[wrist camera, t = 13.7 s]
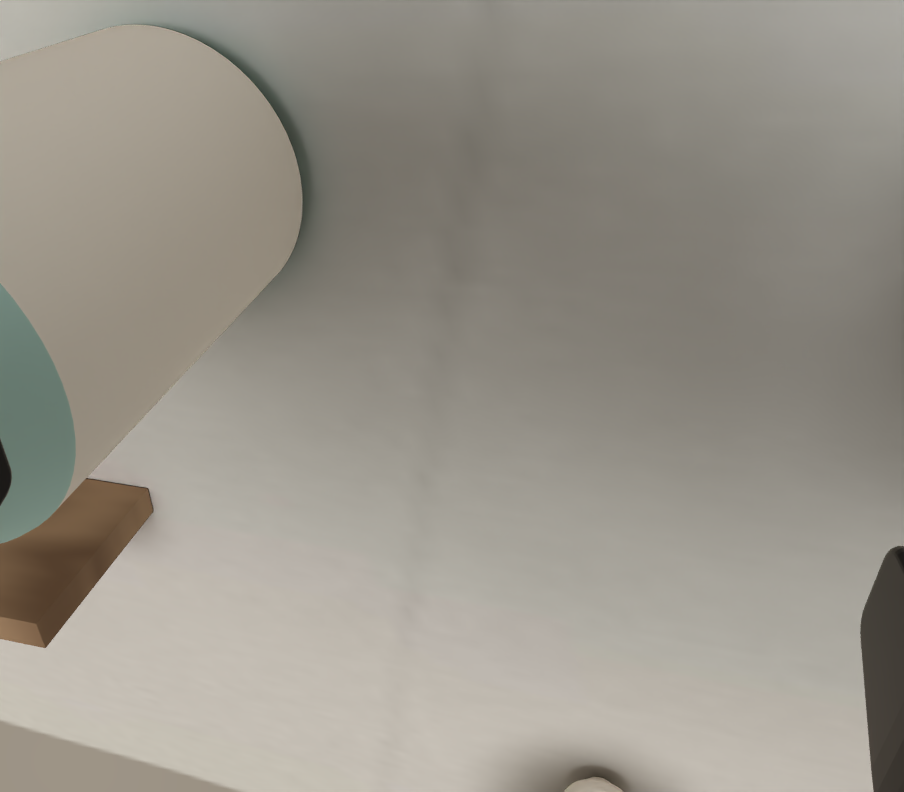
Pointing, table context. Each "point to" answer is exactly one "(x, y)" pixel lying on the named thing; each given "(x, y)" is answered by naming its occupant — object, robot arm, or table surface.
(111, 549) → the three-sided wooden tray
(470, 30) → the table surface
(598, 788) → the lightbulb
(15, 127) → the can
